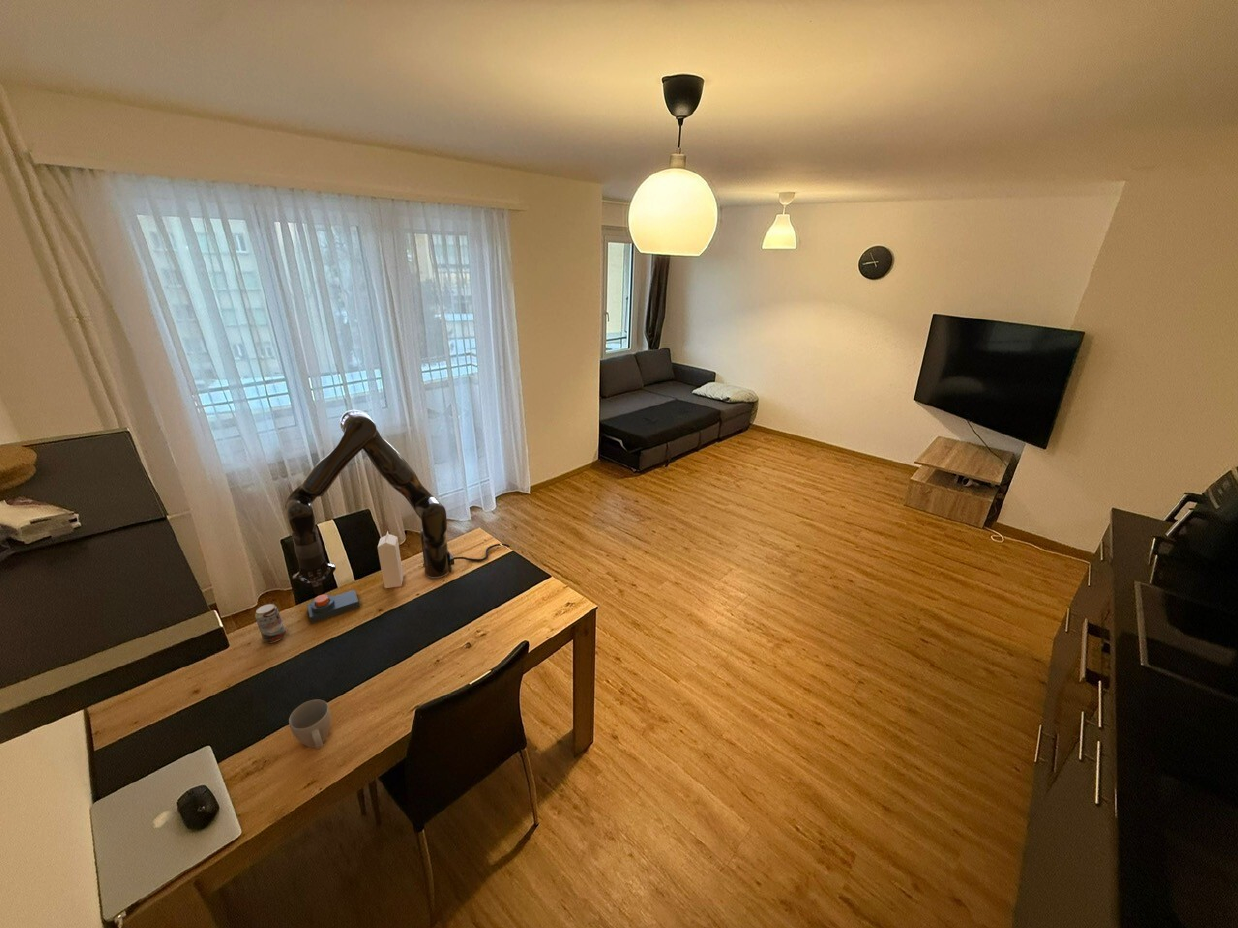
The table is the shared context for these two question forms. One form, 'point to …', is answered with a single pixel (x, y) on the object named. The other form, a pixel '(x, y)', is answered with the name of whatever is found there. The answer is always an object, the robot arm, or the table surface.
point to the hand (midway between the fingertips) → (319, 592)
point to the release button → (321, 600)
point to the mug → (311, 723)
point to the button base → (333, 606)
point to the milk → (390, 561)
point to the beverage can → (270, 623)
